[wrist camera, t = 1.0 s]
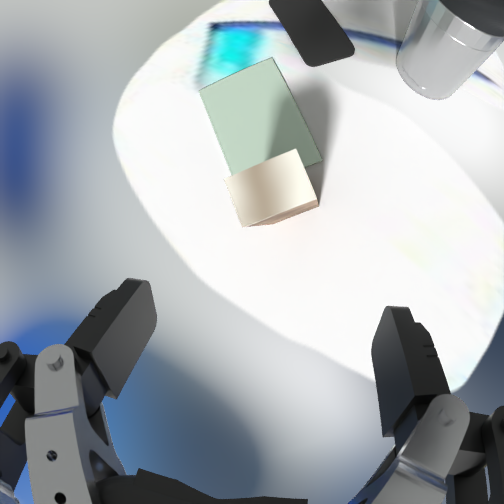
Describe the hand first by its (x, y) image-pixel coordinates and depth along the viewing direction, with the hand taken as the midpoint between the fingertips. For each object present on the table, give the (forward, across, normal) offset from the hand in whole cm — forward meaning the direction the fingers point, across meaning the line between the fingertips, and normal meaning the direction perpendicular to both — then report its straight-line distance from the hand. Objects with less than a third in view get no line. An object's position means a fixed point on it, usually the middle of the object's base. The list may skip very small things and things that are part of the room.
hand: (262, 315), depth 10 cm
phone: (+37, -2, -19) cm, 42 cm away
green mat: (+31, +5, -4) cm, 32 cm away
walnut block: (+27, 0, +5) cm, 27 cm away
